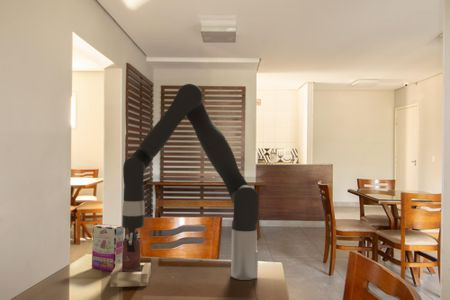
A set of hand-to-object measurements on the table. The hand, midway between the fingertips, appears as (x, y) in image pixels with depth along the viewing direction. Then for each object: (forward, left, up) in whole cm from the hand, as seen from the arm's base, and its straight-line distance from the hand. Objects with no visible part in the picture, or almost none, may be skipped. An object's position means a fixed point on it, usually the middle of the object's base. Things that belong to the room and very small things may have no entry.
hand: (132, 262), depth 118 cm
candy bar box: (+11, -13, -6) cm, 18 cm away
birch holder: (0, 0, -6) cm, 6 cm away
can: (0, 0, -6) cm, 6 cm away
